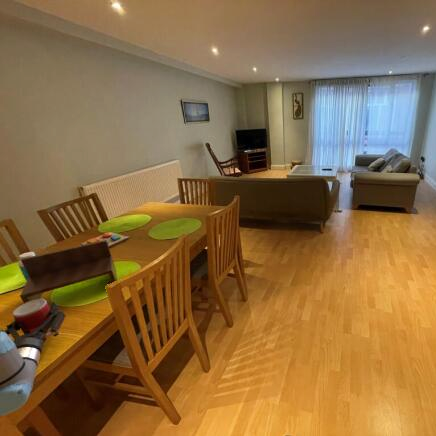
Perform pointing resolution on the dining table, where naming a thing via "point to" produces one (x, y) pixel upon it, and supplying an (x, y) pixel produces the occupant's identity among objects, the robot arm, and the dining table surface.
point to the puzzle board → (107, 239)
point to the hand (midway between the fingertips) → (38, 309)
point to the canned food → (31, 315)
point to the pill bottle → (22, 264)
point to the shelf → (66, 268)
